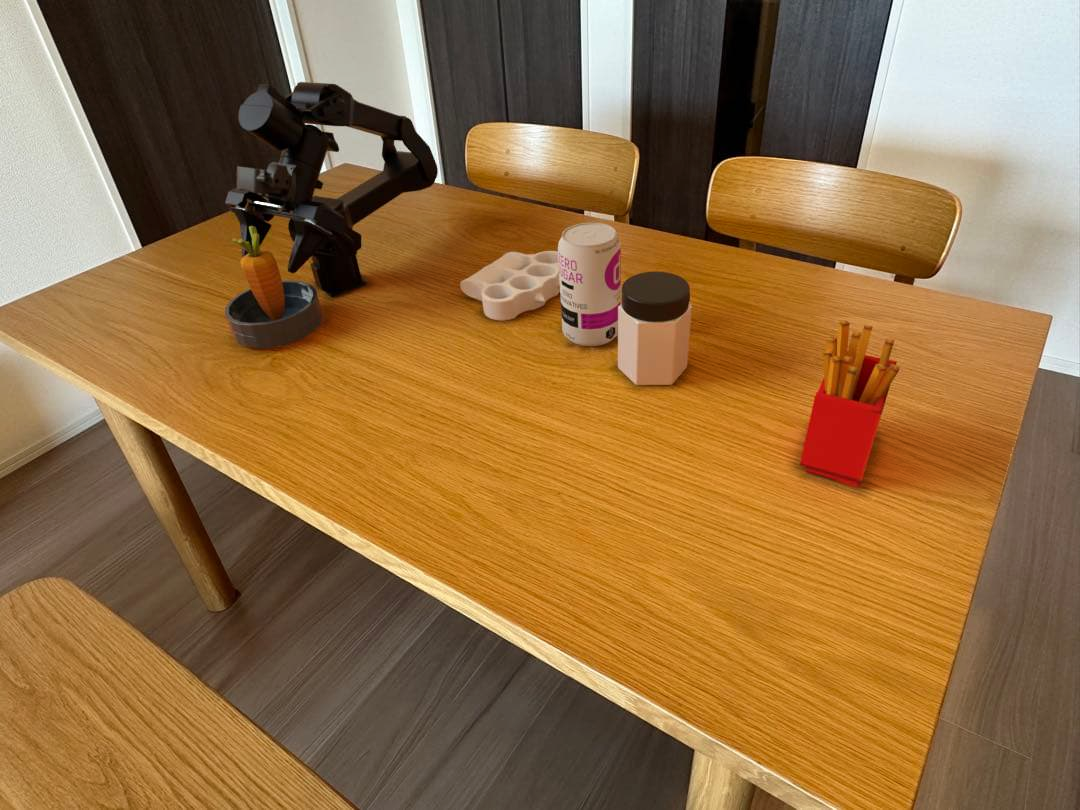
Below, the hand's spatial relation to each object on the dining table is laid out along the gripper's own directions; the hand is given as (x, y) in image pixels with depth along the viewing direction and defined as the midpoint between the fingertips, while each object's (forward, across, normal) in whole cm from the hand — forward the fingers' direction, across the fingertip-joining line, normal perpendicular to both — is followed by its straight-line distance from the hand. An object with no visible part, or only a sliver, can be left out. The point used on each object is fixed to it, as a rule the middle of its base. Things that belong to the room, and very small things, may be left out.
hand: (267, 267), depth 101 cm
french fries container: (+5, +80, +9) cm, 80 cm away
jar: (0, +56, +14) cm, 57 cm away
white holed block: (-9, +29, +22) cm, 38 cm away
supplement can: (-4, +45, +17) cm, 48 cm away
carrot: (+7, 0, +5) cm, 9 cm away
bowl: (+8, 0, +5) cm, 9 cm away
